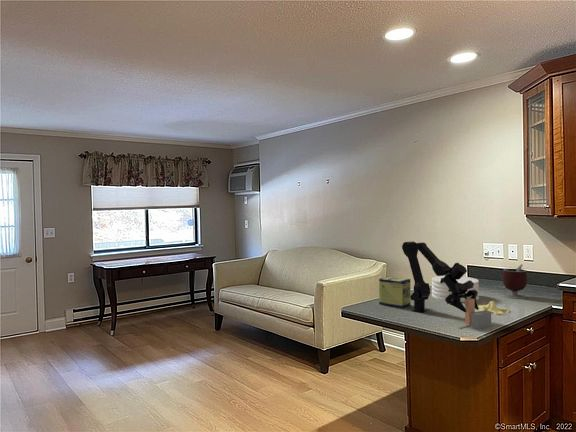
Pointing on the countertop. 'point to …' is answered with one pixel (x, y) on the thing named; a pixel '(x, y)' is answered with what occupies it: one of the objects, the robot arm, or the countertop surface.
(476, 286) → the plate stack
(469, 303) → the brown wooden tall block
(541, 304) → the countertop surface
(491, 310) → the cloth
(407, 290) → the protein box
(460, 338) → the countertop surface
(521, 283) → the mate gourd
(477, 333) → the countertop surface
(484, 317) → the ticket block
